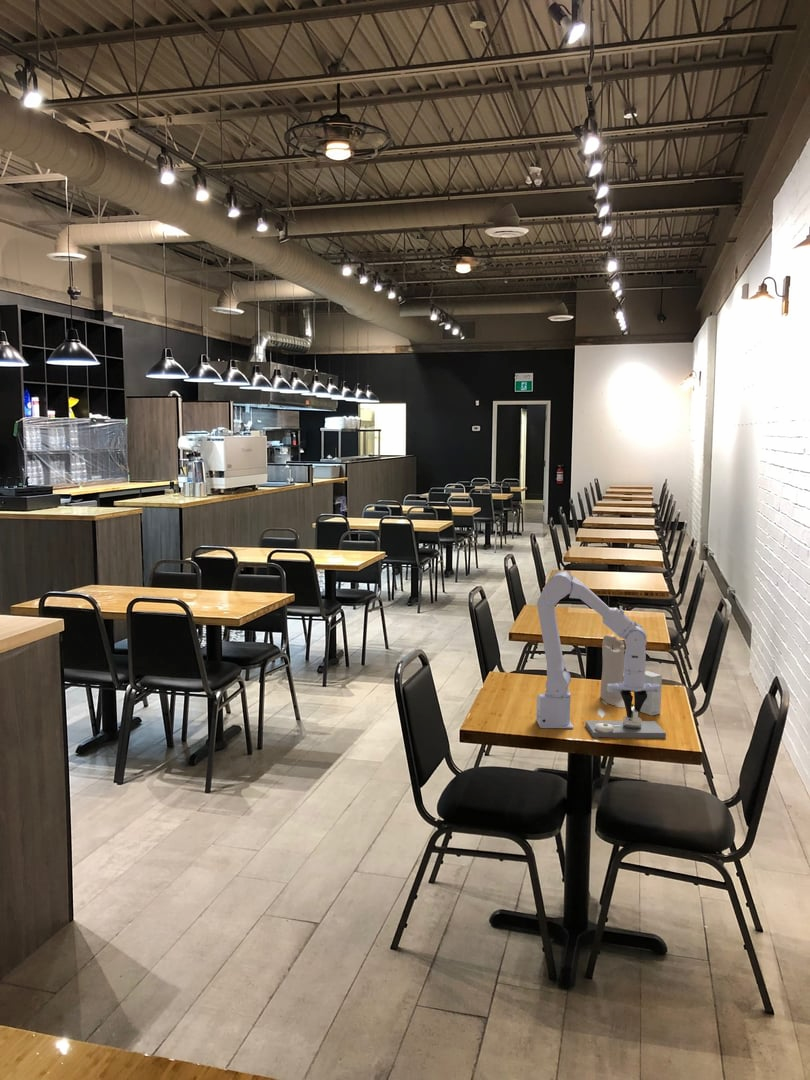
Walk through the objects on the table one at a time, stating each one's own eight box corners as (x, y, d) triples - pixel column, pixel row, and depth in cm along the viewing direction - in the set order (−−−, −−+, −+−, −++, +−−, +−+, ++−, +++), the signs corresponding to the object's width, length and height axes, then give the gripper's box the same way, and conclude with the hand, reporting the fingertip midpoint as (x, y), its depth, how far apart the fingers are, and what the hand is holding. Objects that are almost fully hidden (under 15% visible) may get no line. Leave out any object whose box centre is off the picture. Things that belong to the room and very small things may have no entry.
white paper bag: (613, 708, 260) (616, 644, 258) (596, 695, 274) (599, 634, 271) (636, 707, 261) (638, 643, 259) (618, 694, 275) (620, 633, 273)
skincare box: (661, 714, 255) (662, 675, 254) (650, 716, 253) (652, 676, 252) (646, 708, 260) (647, 670, 259) (635, 710, 258) (637, 672, 257)
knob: (644, 729, 235) (644, 709, 235) (626, 729, 235) (626, 709, 235) (637, 722, 241) (638, 703, 241) (620, 722, 241) (621, 703, 241)
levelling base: (593, 737, 233) (593, 726, 233) (585, 725, 243) (585, 714, 243) (665, 738, 234) (666, 726, 233) (654, 726, 244) (655, 715, 243)
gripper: (612, 673, 232) (610, 721, 234) (664, 673, 233) (662, 721, 234) (605, 666, 239) (604, 713, 241) (657, 666, 240) (654, 713, 241)
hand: (632, 716), depth 238 cm, fingers closed on knob
